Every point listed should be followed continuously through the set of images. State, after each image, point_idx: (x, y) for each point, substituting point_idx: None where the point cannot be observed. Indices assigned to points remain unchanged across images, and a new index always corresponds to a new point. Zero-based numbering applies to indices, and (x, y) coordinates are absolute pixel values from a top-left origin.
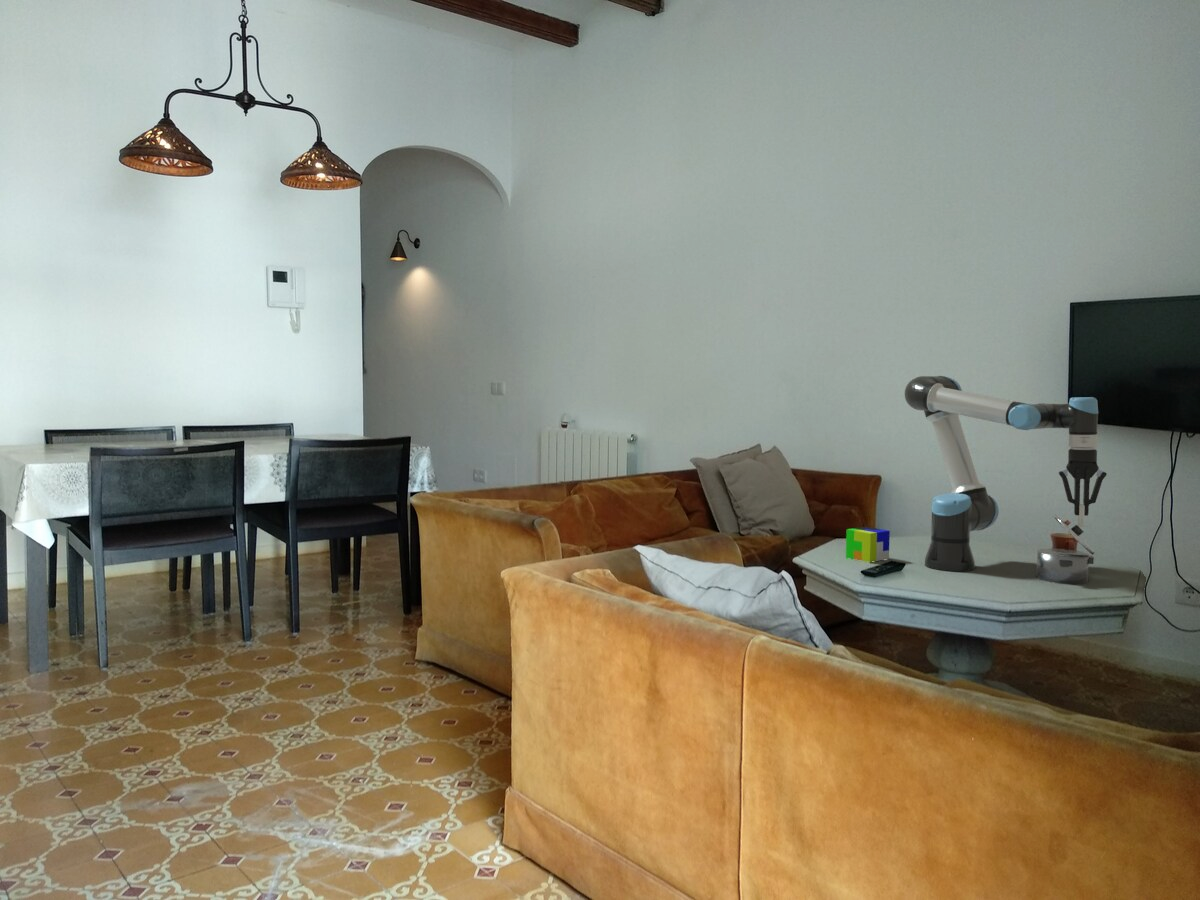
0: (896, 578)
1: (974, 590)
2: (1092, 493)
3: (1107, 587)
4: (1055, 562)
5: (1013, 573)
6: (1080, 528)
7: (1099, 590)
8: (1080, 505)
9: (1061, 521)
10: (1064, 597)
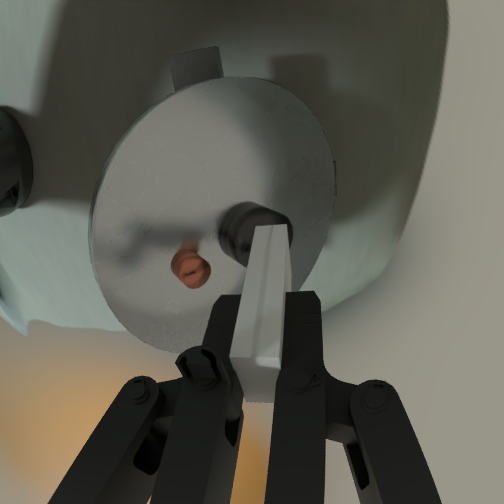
0: (14, 294)
1: (113, 330)
2: (371, 490)
3: (351, 211)
4: None
5: (104, 146)
6: (273, 219)
7: (325, 253)
8: (252, 400)
9: (174, 350)
10: None
